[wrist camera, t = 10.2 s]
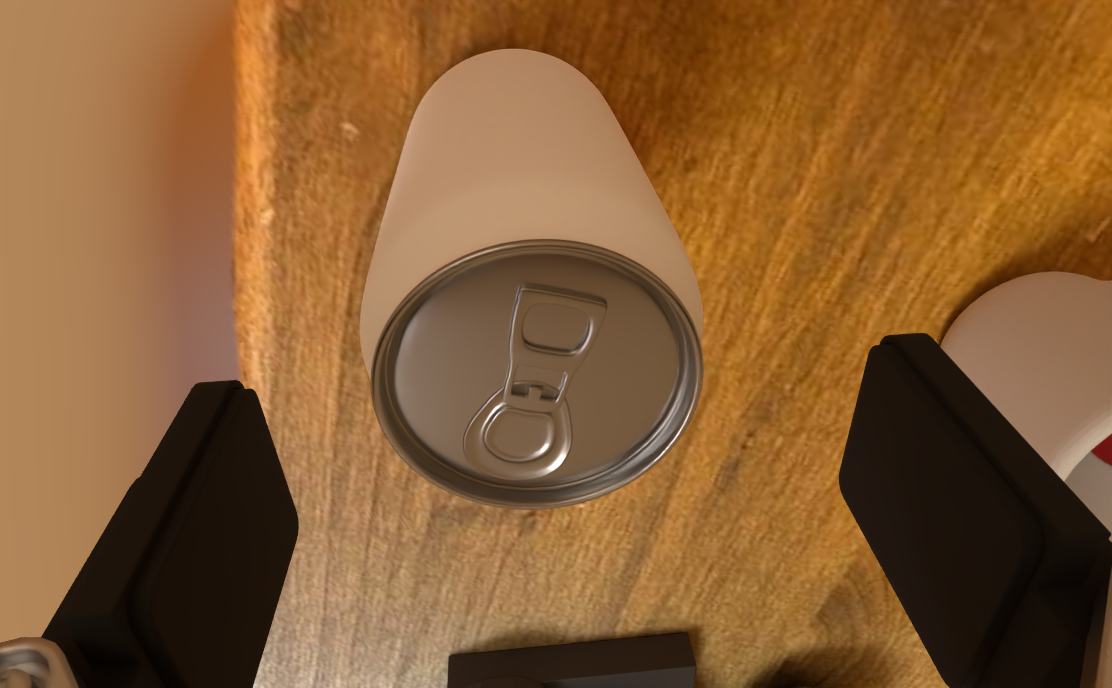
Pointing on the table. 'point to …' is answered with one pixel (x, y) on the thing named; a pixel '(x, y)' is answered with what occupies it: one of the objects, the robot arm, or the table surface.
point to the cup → (1048, 372)
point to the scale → (581, 665)
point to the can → (528, 293)
